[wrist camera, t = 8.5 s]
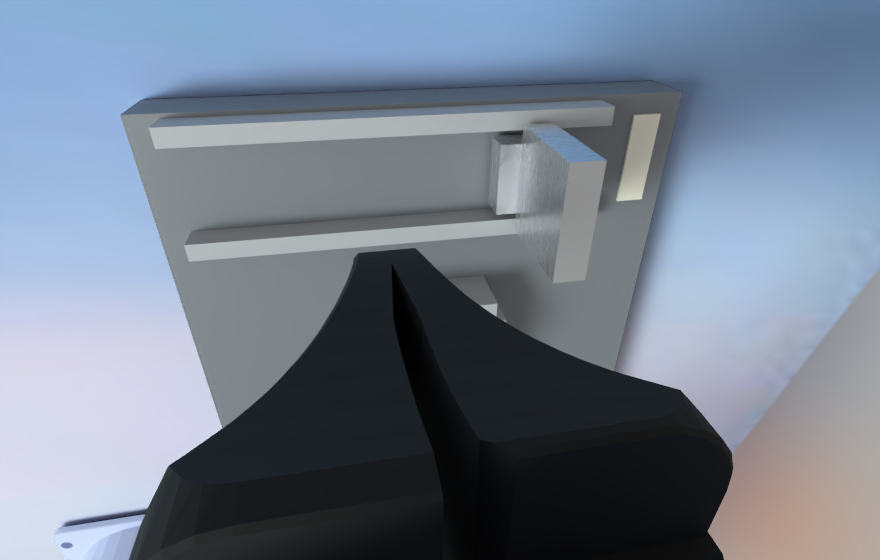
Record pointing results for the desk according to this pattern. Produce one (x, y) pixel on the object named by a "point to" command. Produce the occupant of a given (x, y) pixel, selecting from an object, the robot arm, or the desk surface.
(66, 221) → the desk surface
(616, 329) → the panel
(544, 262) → the grey boxy piece
